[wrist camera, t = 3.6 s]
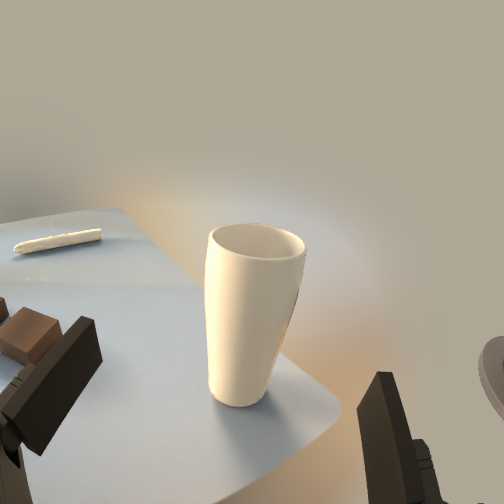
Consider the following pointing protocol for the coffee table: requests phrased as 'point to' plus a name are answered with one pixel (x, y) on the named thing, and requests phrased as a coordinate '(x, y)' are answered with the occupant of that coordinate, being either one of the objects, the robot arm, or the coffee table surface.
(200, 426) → the coffee table surface
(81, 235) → the marker
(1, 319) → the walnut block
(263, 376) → the drinking glass
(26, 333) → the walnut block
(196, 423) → the coffee table surface
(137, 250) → the coffee table surface
